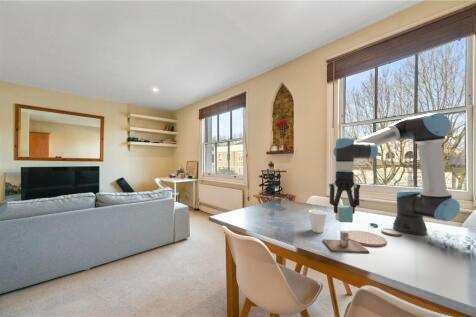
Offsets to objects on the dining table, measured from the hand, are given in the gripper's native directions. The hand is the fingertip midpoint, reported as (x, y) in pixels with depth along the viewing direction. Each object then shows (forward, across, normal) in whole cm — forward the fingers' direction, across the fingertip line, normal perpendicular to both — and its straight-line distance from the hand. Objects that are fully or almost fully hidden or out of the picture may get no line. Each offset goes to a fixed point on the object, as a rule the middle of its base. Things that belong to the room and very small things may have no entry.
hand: (343, 220), depth 95 cm
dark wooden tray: (+12, 0, 0) cm, 12 cm away
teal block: (0, 0, 0) cm, 0 cm away
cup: (+13, +6, -20) cm, 24 cm away
